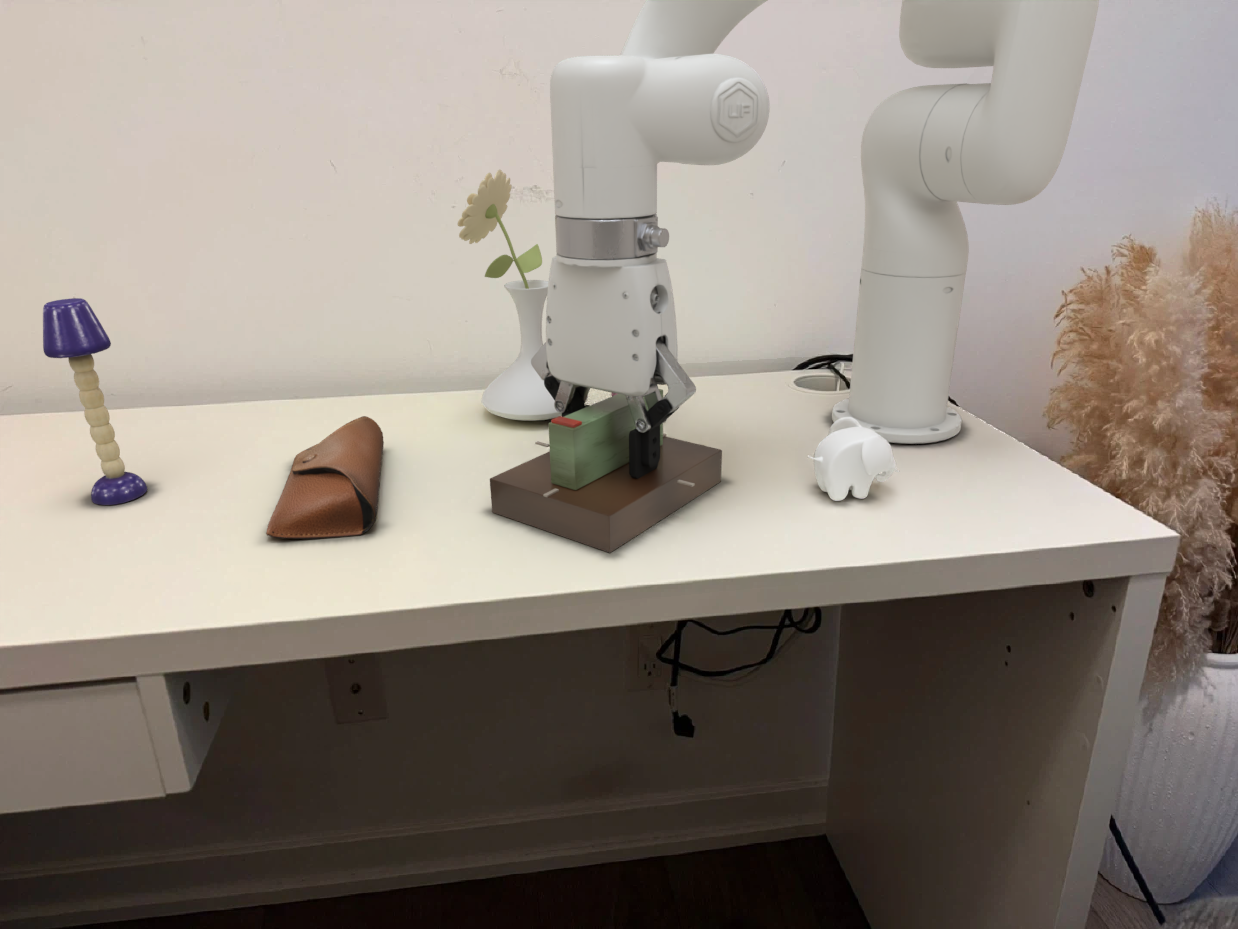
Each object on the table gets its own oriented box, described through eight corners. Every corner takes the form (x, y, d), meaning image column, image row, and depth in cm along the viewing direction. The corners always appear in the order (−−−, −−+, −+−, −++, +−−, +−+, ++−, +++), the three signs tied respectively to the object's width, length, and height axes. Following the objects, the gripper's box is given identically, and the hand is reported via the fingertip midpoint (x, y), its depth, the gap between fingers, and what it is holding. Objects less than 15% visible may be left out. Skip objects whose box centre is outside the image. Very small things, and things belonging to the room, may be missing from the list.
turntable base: (594, 447, 82) (593, 416, 81) (743, 486, 73) (744, 452, 72) (472, 506, 70) (469, 471, 69) (632, 561, 61) (632, 522, 60)
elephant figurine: (913, 505, 69) (922, 436, 67) (821, 515, 67) (827, 444, 65) (873, 473, 75) (881, 409, 73) (788, 482, 74) (793, 416, 71)
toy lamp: (76, 508, 70) (19, 308, 64) (96, 486, 75) (45, 296, 68) (139, 502, 71) (89, 304, 65) (155, 481, 76) (110, 293, 69)
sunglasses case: (290, 453, 80) (320, 392, 78) (362, 482, 82) (391, 423, 81) (262, 539, 64) (298, 464, 62) (352, 572, 66) (388, 500, 65)
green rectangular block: (639, 438, 75) (639, 381, 73) (663, 444, 74) (663, 386, 72) (550, 483, 66) (547, 419, 64) (575, 490, 65) (573, 426, 63)
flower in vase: (540, 390, 99) (529, 163, 90) (610, 411, 92) (605, 166, 82) (448, 417, 91) (424, 169, 81) (516, 443, 83) (499, 173, 74)
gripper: (733, 242, 61) (724, 472, 68) (551, 227, 71) (559, 430, 78) (676, 255, 56) (673, 505, 63) (487, 237, 65) (502, 455, 72)
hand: (610, 461), depth 70 cm, fingers closed on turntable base, 6 cm apart
